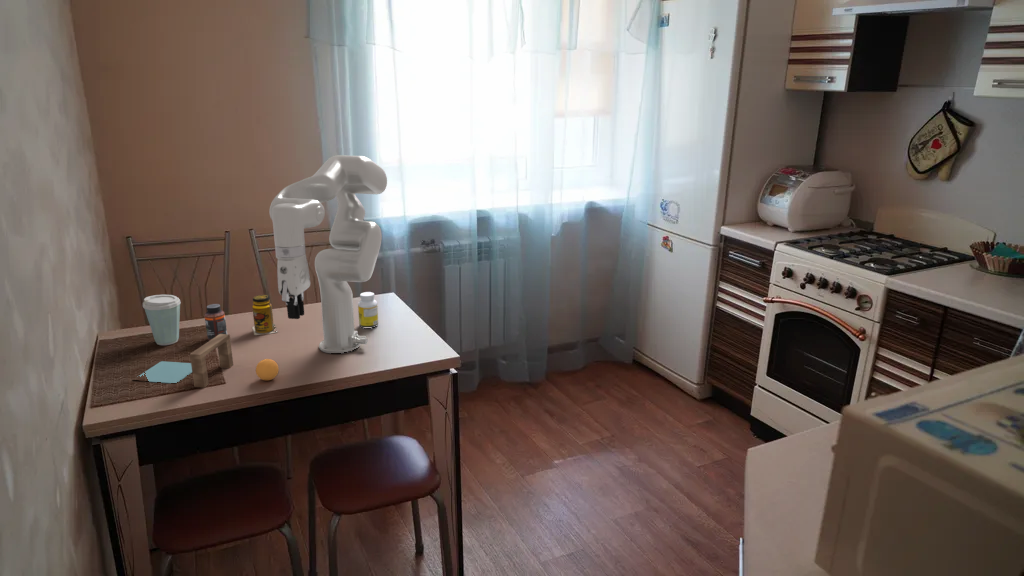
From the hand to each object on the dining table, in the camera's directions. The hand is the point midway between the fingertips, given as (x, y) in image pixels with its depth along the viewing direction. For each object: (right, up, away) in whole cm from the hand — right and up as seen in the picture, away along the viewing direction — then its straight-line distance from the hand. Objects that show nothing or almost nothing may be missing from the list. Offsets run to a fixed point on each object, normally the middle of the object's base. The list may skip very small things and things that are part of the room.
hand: (296, 316), depth 180 cm
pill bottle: (+10, -6, +47) cm, 48 cm away
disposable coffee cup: (-51, -10, +31) cm, 60 cm away
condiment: (-24, -7, +42) cm, 49 cm away
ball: (-10, -15, +5) cm, 19 cm away
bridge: (-26, -17, +8) cm, 32 cm away
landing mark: (-40, -16, +9) cm, 44 cm away
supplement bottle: (-36, -9, +34) cm, 51 cm away
